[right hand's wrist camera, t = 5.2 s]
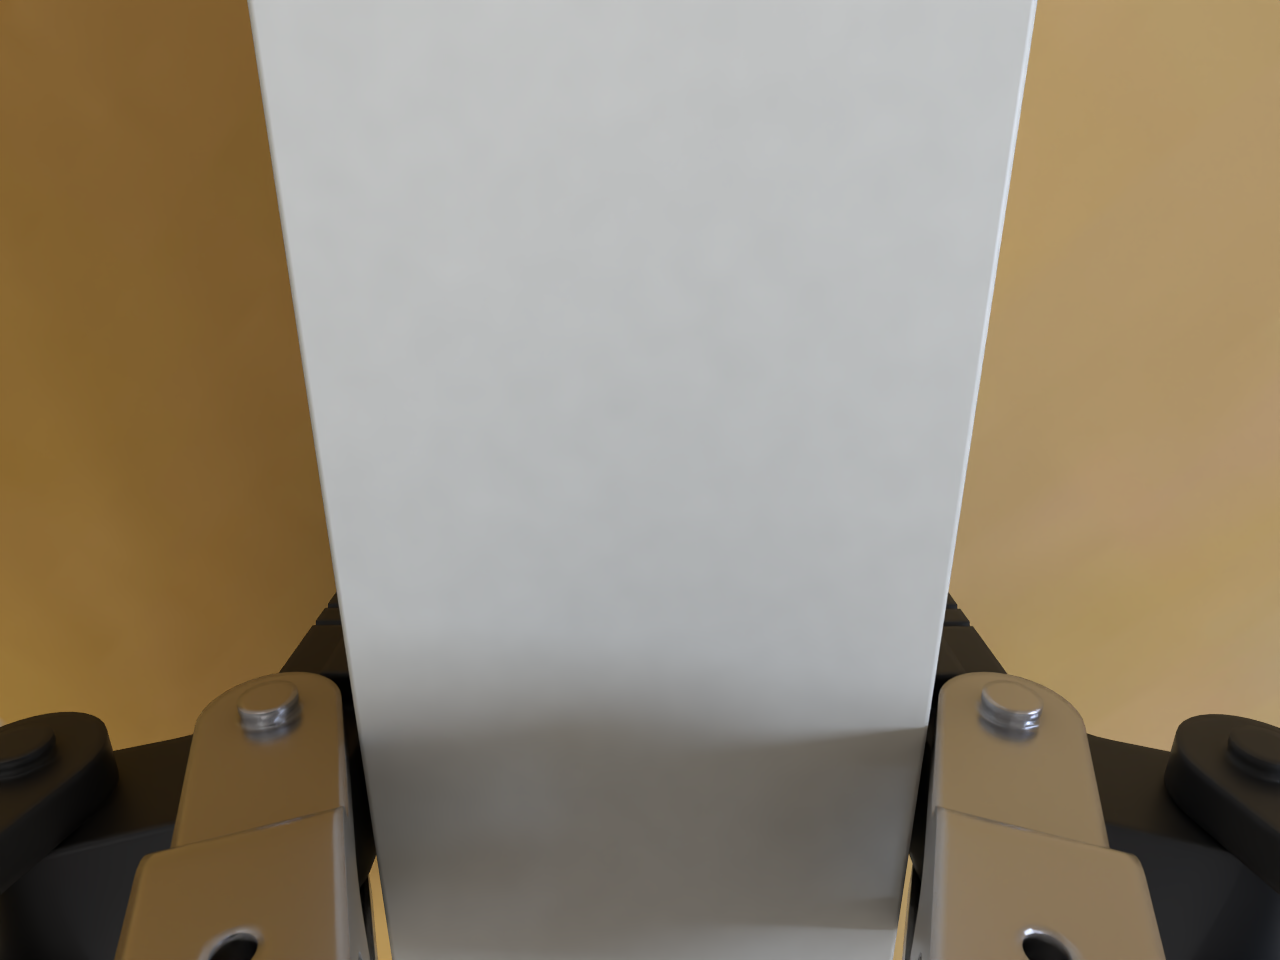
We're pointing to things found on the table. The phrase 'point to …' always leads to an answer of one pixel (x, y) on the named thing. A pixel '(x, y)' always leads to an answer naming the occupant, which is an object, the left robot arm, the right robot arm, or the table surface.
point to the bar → (642, 444)
